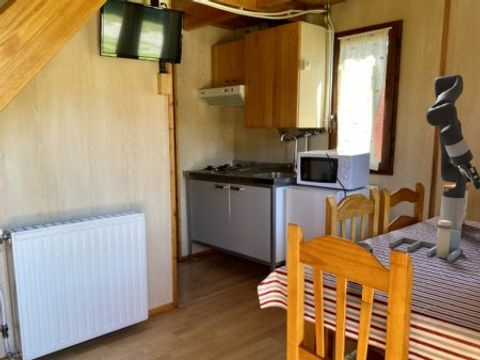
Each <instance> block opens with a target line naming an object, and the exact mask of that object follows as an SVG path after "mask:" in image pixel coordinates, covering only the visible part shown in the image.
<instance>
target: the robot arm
mask: <svg viewBox="0 0 480 360" xmlns="http://www.w3.org/2000/svg"><path fill="white" fill-rule="evenodd" d="M463 92H464V78H463V76H462V75H460V74H451V75H450V74H449V75H444V76H438V77H436V78H435V80H434V95H435V102H434V104H432V106H430V108H429V109H428V110H427V112H426V117H425V119H426V121H427V123H428V124H429V125H430V126H432V127H438V137H439V145H440V146H439V147H440V177H441V180H442V181H443V182H445V183H446V182H448V183H455V184H456V186H455V187H453V188H451V189H446V190H444V191H443V200H442V210H441V211H440V210H439V217H440V220H446V221H450V222H451V225H452V228H451V230H456V231H461V232H462V228H463V224H462V220H463V209H464V198H465V191H466V185H468V184H467V183H471V182H472V184H473V187H474V188H475V190H480V174H479V172H478V170H477V169H476V167H475V166H474V164H472V163H471V161H472V160H473V159H474V155H473V154H472V150H471V149H470V147H469V145H468V142H467V141H466V139H465V137H464V135H463V133H462V122H461V121H460V120H459V117H458V111H457V107H456V105H455V104H456V101H457V100H458V99H459V98H460V97H461V96H462V93H463Z"/></svg>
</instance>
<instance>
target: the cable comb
mask: <svg viewBox="0 0 480 360" xmlns="http://www.w3.org/2000/svg"><path fill="white" fill-rule="evenodd" d="M461 235H462V230H461V231H456V230H451V231H450V242H449V254H448V257H447V258H446V261H448V262H452V261H453V260H455V259H456V258H457V257H460V255H464V250H465V249H464V248H461V247H460V245H461V237H462V236H461ZM402 243H407V244H409V245H407V248H406V251H407V252H409V253H411V252H412V251H415V250H417V249H418V248H420V247H427V248H429V249H427V250H426V257H431V256H433V255H435V254H436V245H437V242H436V243H435V242H432V241H427V240H421V239H417V238H412V237H407V236H402V235H401V236H399V237H398V238H396V239H393V240H391V241H390V242H389V244H388V247H389V248H392V249H393V248H394V247H396V246H398V245H400V244H402Z"/></svg>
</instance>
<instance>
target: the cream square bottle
mask: <svg viewBox="0 0 480 360" xmlns="http://www.w3.org/2000/svg"><path fill="white" fill-rule="evenodd" d="M451 228H452V225H451V222H450V221H446V220H438V223H437V233H436V234H437V236H436V243H437V245H436V253H435V257H437V258H440V257H441V259H442V258H443V259H447V257H448V255H449V254H450V252H449V242H450V231H451Z"/></svg>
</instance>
